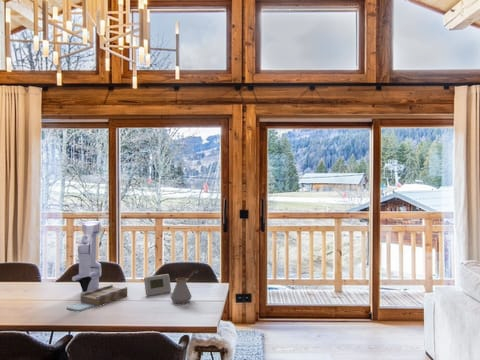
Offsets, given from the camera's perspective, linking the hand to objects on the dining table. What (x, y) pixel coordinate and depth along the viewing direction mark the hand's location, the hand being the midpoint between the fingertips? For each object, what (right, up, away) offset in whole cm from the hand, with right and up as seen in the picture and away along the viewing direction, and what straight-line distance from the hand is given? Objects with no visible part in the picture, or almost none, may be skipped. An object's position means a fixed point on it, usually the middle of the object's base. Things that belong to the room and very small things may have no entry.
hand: (84, 291), depth 210 cm
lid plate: (-1, -9, -2) cm, 9 cm away
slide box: (+7, -8, +12) cm, 16 cm away
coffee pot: (+53, -9, +12) cm, 55 cm away
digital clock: (+34, -9, +25) cm, 43 cm away
